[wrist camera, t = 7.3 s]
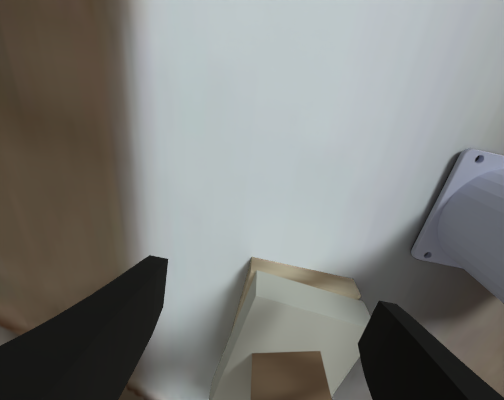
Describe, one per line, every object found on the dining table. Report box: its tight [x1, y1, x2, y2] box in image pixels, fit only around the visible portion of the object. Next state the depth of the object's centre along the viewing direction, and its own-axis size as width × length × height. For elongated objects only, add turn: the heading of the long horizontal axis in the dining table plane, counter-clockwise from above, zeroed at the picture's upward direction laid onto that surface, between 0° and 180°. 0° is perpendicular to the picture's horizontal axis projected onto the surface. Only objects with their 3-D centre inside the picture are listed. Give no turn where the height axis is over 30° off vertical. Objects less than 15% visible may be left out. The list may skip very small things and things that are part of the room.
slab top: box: [209, 270, 371, 400], centre depth 20 cm, size 8×12×2 cm, turn 162°
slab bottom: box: [231, 257, 361, 333], centre depth 22 cm, size 8×12×2 cm, turn 167°
